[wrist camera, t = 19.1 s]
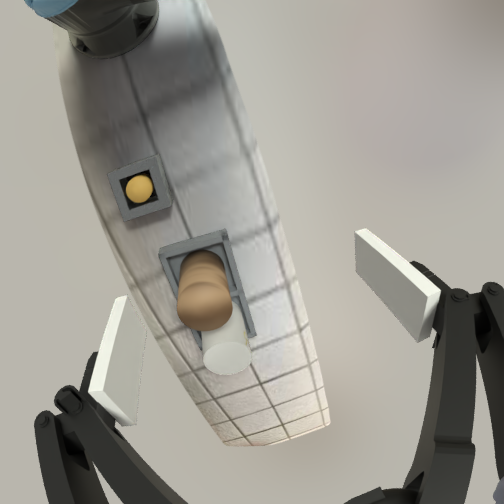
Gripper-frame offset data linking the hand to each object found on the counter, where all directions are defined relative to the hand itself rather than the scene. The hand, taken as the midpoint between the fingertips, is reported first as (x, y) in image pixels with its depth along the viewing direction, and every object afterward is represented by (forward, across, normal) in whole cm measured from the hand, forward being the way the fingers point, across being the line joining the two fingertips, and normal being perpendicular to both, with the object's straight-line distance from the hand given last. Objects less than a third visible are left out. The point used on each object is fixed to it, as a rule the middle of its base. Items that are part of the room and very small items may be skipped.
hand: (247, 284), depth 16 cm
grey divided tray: (+33, -6, -22) cm, 40 cm away
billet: (+32, -6, -16) cm, 37 cm away
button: (+32, -12, +1) cm, 34 cm away
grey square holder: (+33, -12, +1) cm, 35 cm away
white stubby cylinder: (+32, -6, -27) cm, 43 cm away
